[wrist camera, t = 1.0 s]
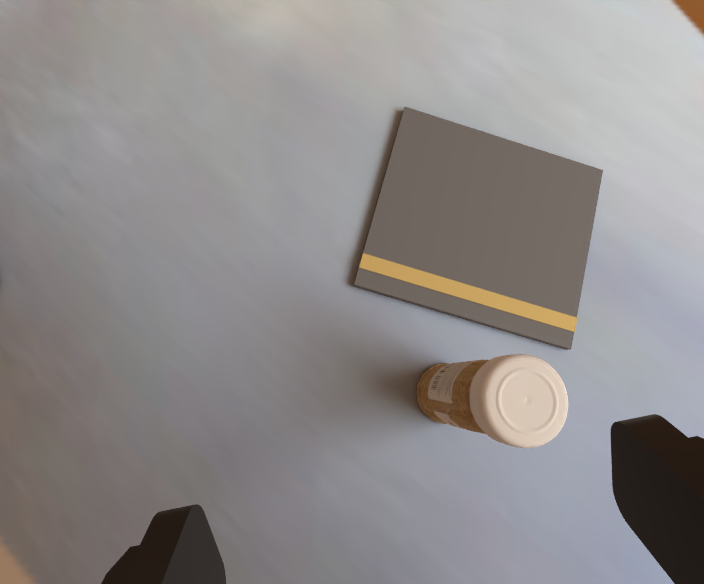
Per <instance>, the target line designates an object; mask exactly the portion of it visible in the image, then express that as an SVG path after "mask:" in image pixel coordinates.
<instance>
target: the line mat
mask: <svg viewBox="0 0 704 584" xmlns="http://www.w3.org/2000/svg"><path fill="white" fill-rule="evenodd" d="M602 172H603V170H600V169H597V168H594V167H591V166H588V165H585V164H582V163H579V162H576V161H572V160H569V159H566V158H563V157H560V156H557V155H554V154H551V153H548V152H544V151H541V150H538V149H535V148H532V147H529V146H526V145H523V144H519V143H516V142H513V141H510V140H507V139H504V138H501V137H498V136H495V135H491V134H488V133H485V132H482V131H479V130H476V129H473V128H470V127H467V126H463V125H460V124H457V123H454V122H451V121H448V120H445V119H442V118H438V117H435V116H432V115H429V114H426V113H423V112H420V111H417V110H414V109H410V108H407V107H404V110H403V113H402V117H401V120H400V124H399V127H398V131H397V134H396V138H395V141H394V145H393V148H392V152H391V155H390V159H389V162H388V166H387V169H386V173H385V176H384V180H383V183H382V187H381V190H380V194H379V197H378V201H377V204H376V208H375V212H374V215H373V219H372V222H371V226H370V229H369V233H368V236H367V240H366V243H365V247H364V250H363V254H362V257H361V261H360V264H359V268H358V271H357V275H356V278H355V282H354V285H353V286H355V287H358V288H362V289H365V290H369V291H372V292H375V293H379V294H382V295H385V296H389V297H392V298H395V299H399V300H402V301H405V302H409V303H412V304H416V305H419V306H422V307H426V308H429V309H432V310H436V311H439V312H442V313H446V314H449V315H453V316H456V317H459V318H463V319H466V320H469V321H473V322H476V323H479V324H483V325H486V326H489V327H493V328H496V329H500V330H503V331H506V332H510V333H513V334H516V335H520V336H523V337H526V338H530V339H533V340H536V341H540V342H543V343H547V344H550V345H553V346H557V347H560V348H563V349H571V346H572V341H573V335H574V332H575V328H576V322H577V313H578V307H579V301H580V296H581V290H582V284H583V279H584V273H585V267H586V262H587V256H588V251H589V245H590V239H591V234H592V228H593V222H594V217H595V211H596V206H597V200H598V194H599V189H600V183H601V177H602Z"/></svg>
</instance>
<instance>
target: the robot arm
mask: <svg viewBox="0 0 704 584" xmlns="http://www.w3.org/2000/svg"><path fill="white" fill-rule="evenodd" d="M611 456H612V484H613V492H614V496H615V500H616V503H617V505H618V508H619V510H620V512H621V514H622V516H623V518H624V519H625V521H626V522H627V524H628V525H629V526H630V528H631V529H632V530H633V531H634V533H635V534H636V535H637V536H638V538H639V539H640V540H641V541H642V543H643V544H644V545H645V547H646V548H647V549H648V550H649V552H650V553H651V554H652V555H653V557H654V558H655V559H656V561H657V562H658V563H659V564H660V566H661V567H662V568H663V569H664V571H665V572H666V573H667V574H668V576H669V577H670V578H671V580H672V581H673V582H674V583H675V584H704V439H703V438H700V437H698V436H695V437H690V438H688V437H687V436H685V435H684V434H683V433H682V432H680V431H679V430H678V429H677V428H675V427H674V426H673V425H672V424H671V423H669V422H668V421H667V420H666V419H664V418H663V417H661V416H659V415H656V414H654V415H648V416H643V417H638V418H633V419H628V420H623V421H618V422H615V423H613V425H612V427H611ZM101 584H226V576H225V568H224V564H223V561H222V558H221V556H220V553H219V550H218V548H217V545H216V542H215V540H214V537H213V534H212V532H211V529H210V526H209V524H208V521H207V518H206V516H205V513H204V511H203V509H202V507H201V506H200V505H197V504H196V505H191V506H186V507H181V508H176V509H171V510H166V511H161V512H158V513H157V514H156V515H155V516H154V517H153V519H152V521H151V523H150V525H149V527H148V529H147V532H146V534H145V536H144V538H143V540H142V542H141V544H140V545H138V546H133V547H130V548H129V549H128V550H127V551H126V552H125V554H124V555H123V556H122V557H121V558H120V559H119V560H118V561H117V563H116V564H115V565H114V566H113V567H112V568H111V569H110V570H109V572H108V573H107V574H106V576H105V578H104V580H103V581H102V583H101Z"/></svg>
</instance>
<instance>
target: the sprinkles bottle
mask: <svg viewBox="0 0 704 584" xmlns="http://www.w3.org/2000/svg"><path fill="white" fill-rule="evenodd" d="M417 399H418V404H419V406H420V408H421V409H422V411H423V412H424V413H425V414H426V415H427V416H428V417H429V418H430V419H432V420H433V421H436V422H439V423H444V424H449V425H452V426H455V427H459V428H463V429H467V430H470V431H474V432H480V433H484V434H487V435H488V436H489V437H491V438H492V439H494V440H496V441H498V442H501V443H504V444H507V445H511V446H515V447H520V448H534V447H538V446H541V445H543V444H546V443H547V442H549V441H550V440H552V439H553V438H554V437H555V436H556V435H557V434H558V433H559V432H560V430H561V429H562V427H563V425H564V423H565V420H566V417H567V412H568V397H567V392H566V388H565V385H564V383H563V381H562V379H561V378H560V376H559V375H558V373H557V372H556V371H555V370H554V369H553V368H552V367H551V366H550V365H549V364H548V363H546V362H545V361H543V360H541V359H539V358H537V357H534V356H530V355H523V354H517V355H505V356H499V357H496V358H493V359H491V360H476V361H467V362H459V363H452V364H437V365H434V366H432V367H431V368H429V369H428V370H427V371H426V372H424V373H423V375H422V376H421V378H420V380H419V382H418V386H417Z"/></svg>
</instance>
